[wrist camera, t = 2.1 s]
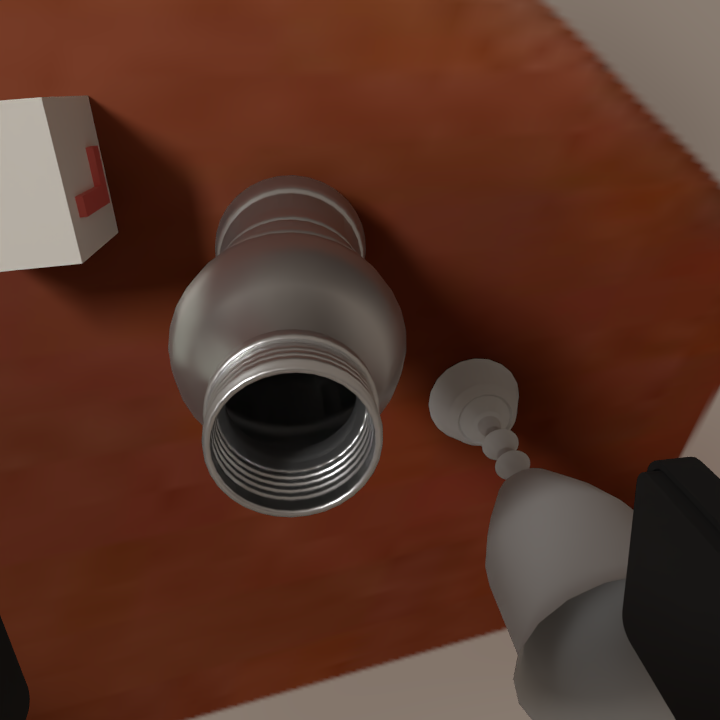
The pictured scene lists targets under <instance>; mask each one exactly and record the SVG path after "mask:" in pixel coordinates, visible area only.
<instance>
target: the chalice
mask: <svg viewBox="0 0 720 720" xmlns="http://www.w3.org/2000/svg"><path fill="white" fill-rule="evenodd" d="M518 399H519V392H518V385H517V382H516V380H515V379H514V377H513V375H512V373H511V372H510V371H509V370H508V369H506V368H505V367H504V366H503V365H502V364H499V363H497V362H494V361H492V360H489V359H471V360H467V361H462V362H459V363H458V364H456V365H454V366H452V367H450V368H449V369H447V370H446V371H445V372H444V373H443V374H442V375H441V376H440V377H439V378H438V379H437V381H436V383H435V385H434V387H433V388H432V390H431V393H430V400H429V409H430V414H431V418H432V420H433V421H434V423H435V424H436V426H437V428H438V429H440V430H441V431H442V432H444V433H445V434H446V435H447V436H450V437H453V438H455V439H457V440H460V441H462V442H464V443H467V444H469V445H476V446H482V449H483V452H484V454H485V455H486V456H487V457H489V458H490V459H493V460H497V461H496V464H495V470H496V473H497V474H498V476H500V477H501V478H503V479H506V481H505V482H504V483H503V485H502V486H501V488H500V490H499V493H498V496H497V499H496V503H495V506H494V509H493V512H492V516H491V520H490V525H489V530H488V537H487V552H486V571H487V576H488V580H489V584H490V588H491V590H492V592H493V595H494V597H495V600H496V602H497V605H498V607H499V610H500V612H501V615H502V617H503V620H504V622H505V624H506V627H507V629H508V632H509V634H510V637H511V639H512V641H513V644H514V646H515V649H516V652H517V654H518V658H517V662H516V668H515V673H514V683H515V688H516V692H517V697H518V701H519V704H520V705H521V707H522V708H523V709H524V710H525V712H526V713H527V714H528V715H529V717H530V718H531V719H532V720H676V719H675V718H674V716H673V714H672V713H671V711H670V709H669V708H668V706H667V704H666V703H665V701H664V699H663V698H662V696H661V694H660V692H659V691H658V689H657V687H656V686H655V684H654V682H653V681H652V679H651V677H650V676H649V674H648V672H647V671H646V669H645V667H644V665H643V664H642V662H641V660H640V659H639V657H638V655H637V654H636V652H635V650H634V649H633V647H632V645H631V643H630V642H629V640H628V638H627V635H626V633H625V630H624V626H623V620H622V609H623V600H624V591H625V582H626V573H627V565H628V556H629V547H630V538H631V529H632V520H633V511H634V510H633V509H631V508H630V507H629V506H628V505H626V504H625V503H624V502H622V501H621V500H619V499H618V498H616V497H614V496H612V495H610V494H608V493H606V492H604V491H602V490H600V489H598V488H597V487H595V486H593V485H591V484H589V483H586V482H583V481H580V480H577V479H574V478H571V477H568V476H564V475H561V474H558V473H555V472H551V471H548V470H545V469H542V468H530V469H529V467H530V459H529V458H528V456H527V455H526V454H525V453H523V452H521V451H516V450H517V448H518V444H519V442H518V438H517V436H516V434H515V433H513V432H512V431H510V430H511V428H512V426H513V425H514V423H515V420H516V415H517V407H518Z"/></svg>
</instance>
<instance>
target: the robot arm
mask: <svg viewBox="0 0 720 720" xmlns="http://www.w3.org/2000/svg"><path fill="white" fill-rule="evenodd" d="M622 620H623V626H624V630H625V633H626V635H627V638H628V640H629V642H630V643H631V645H632V647H633V649H634V650H635V652H636V654H637V655H638V657H639V659H640V660H641V662H642V664H643V665H644V667H645V669H646V671H647V672H648V674H649V676H650V677H651V679H652V681H653V682H654V684H655V686H656V687H657V689H658V691H659V692H660V694H661V696H662V698H663V699H664V701H665V703H666V704H667V706H668V708H669V709H670V711H671V713H672V714H673V716H674V718H675V719H676V720H720V479H719V478H718V477H717V476H716V475H715V474H714V473H713V472H712V471H711V470H710V469H709V468H708V467H707V466H706V465H705V464H703V463H702V462H701V461H700V460H698V459H697V458H695V457H684V458H675V459H666V460H658V461H654V462H652V463H651V464H650V465H649V467H648V470H647V472H643V473H641V474H640V475H639V476H638V479H637V484H636V493H635V502H634V511H633V520H632V529H631V538H630V547H629V556H628V565H627V573H626V582H625V591H624V600H623V609H622ZM29 700H30V698H29V690H28V686H27V684H26V681H25V679H24V676H23V674H22V671H21V668H20V666H19V663H18V661H17V658H16V655H15V653H14V650H13V648H12V645H11V642H10V640H9V637H8V635H7V632H6V630H5V627H4V624H3V622H2V619H1V617H0V720H26V717H27V714H28V709H29Z"/></svg>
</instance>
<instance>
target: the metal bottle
mask: <svg viewBox="0 0 720 720" xmlns="http://www.w3.org/2000/svg"><path fill="white" fill-rule="evenodd" d="M215 254H216V257H215V258H214V259H212V260H211V261H210V262H208V263H207V264H206V266H205V267H204V268H203V269H202V270H201V271H200V272H199V274H198V275H197V276H196V277H195V278H194V279H193V281H192V282H191V283H190V284H189V285H188V286H187V288H186V290H185V291H184V293H183V295H182V297H181V299H180V300H179V302H178V304H177V306H176V308H175V312H174V315H173V318H172V322H171V325H170V331H169V346H168V350H169V356H170V362H171V368H172V372H173V375H174V378H175V381H176V384H177V386H178V389H179V391H180V394H181V396H182V399H183V401H184V402H185V404H186V405H187V407H188V408H189V410H190V411H191V413H192V414H193V416H194V417H195V418H196V419H197V420H198V421H199V422H200V423H201V424H202V425H203V432H202V446H203V453H204V459H205V463H206V465H207V468H208V470H209V473H210V475H211V476H212V478H213V479H214V481H215V482H216V484H217V485H218V487H219V488H220V489H221V490H222V491H223V492H224V493H226V494H227V495H228V496H229V497H230V498H231V499H233V500H234V501H236V502H237V503H239V504H241V505H242V506H244V507H246V508H249V509H251V510H254V511H256V512H259V513H263V514H267V515H272V516H281V517H298V516H308V515H312V514H316V513H320V512H324V511H326V510H329V509H331V508H333V507H335V506H338V505H340V504H341V503H343V502H344V501H346V500H348V499H349V498H351V497H352V496H353V495H354V494H356V493H357V492H358V491H359V490H360V489H361V488H362V487H363V486H364V485H365V484H366V482H367V481H368V480H369V478H370V477H371V475H372V474H373V473H374V470H375V468H376V466H377V464H378V461H379V459H380V454H381V449H382V441H383V429H382V422H381V418H380V414H381V413H382V411H383V410H384V408H385V407H386V406H387V404H388V403H389V401H390V400H391V397H392V395H393V393H394V391H395V388H396V386H397V384H398V381H399V378H400V375H401V373H402V369H403V364H404V359H405V354H406V328H405V324H404V320H403V315H402V311H401V309H400V306H399V304H398V302H397V300H396V298H395V296H394V294H393V292H392V290H391V289H390V288H389V286H388V285H387V284H386V282H385V281H384V280H383V278H382V277H381V276H380V275H379V273H378V272H377V271H376V269H375V268H374V267H373V266H372V265H371V264H370V263H368V262H367V261H366V260H365V254H366V245H365V235H364V230H363V226H362V223H361V221H360V219H359V217H358V215H357V213H356V211H355V209H354V208H353V207H352V206H351V204H350V203H349V202H348V200H347V199H346V198H345V197H343V196H342V195H341V194H340V193H339V192H338V191H337V190H335V189H334V188H332V187H330V186H328V185H327V184H325V183H323V182H321V181H318V180H315V179H312V178H309V177H302V176H295V175H290V176H277V177H273V178H269V179H265V180H262V181H260V182H258V183H256V184H254V185H252V186H250V187H248V188H247V189H246V190H244V191H243V192H242V193H240V194H239V195H238V196H237V197H236V198H235V199H234V200H233V201H232V202H231V204H230V205H229V206H228V207H227V209H226V211H225V212H224V214H223V216H222V218H221V220H220V223H219V226H218V229H217V233H216V242H215Z"/></svg>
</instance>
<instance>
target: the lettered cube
mask: <svg viewBox="0 0 720 720" xmlns="http://www.w3.org/2000/svg"><path fill="white" fill-rule="evenodd" d="M117 233H118V229H117V224H116V220H115V215H114V211H113V206H112V201H111V197H110V192H109V188H108V183H107V179H106V174H105V170H104V165H103V161H102V156H101V152H100V147H99V143H98V138H97V134H96V129H95V125H94V120H93V116H92V111H91V107H90V102H89V97H88V96H65V97H40V98H28V99H15V100H3V101H0V272H2V271H12V270H22V269H33V268H43V267H53V266H63V265H74V264H82V263H84V262H85V261H86V260H87V259H88V258H89V257H91V256H92V255H93V254H94V253H95V252H96V251H98V250H99V249H100V248H101V247H102V246H103V245H105V244H106V243H107V242H108V241H109V240H110V239H112V238H113V237H114V236H115V235H116V234H117Z"/></svg>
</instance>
